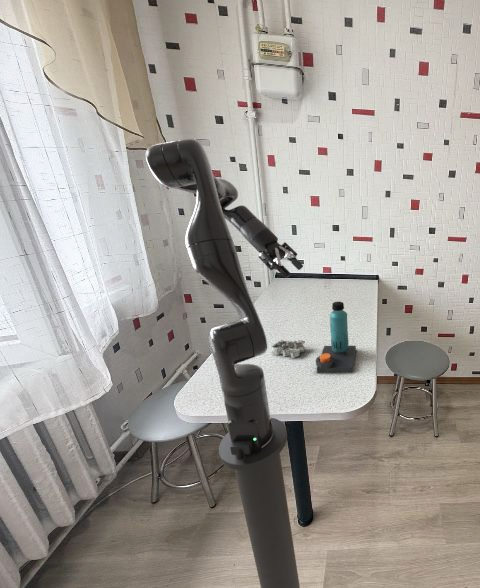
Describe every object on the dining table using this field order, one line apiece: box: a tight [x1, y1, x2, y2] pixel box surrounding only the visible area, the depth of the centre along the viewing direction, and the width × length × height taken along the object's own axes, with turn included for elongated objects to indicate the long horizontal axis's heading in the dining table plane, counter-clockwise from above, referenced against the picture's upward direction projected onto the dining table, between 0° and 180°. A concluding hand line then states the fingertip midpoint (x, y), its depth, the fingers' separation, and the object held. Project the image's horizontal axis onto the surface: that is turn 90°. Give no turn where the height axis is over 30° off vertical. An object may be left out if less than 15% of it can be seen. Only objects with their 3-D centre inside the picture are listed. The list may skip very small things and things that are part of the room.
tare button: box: [319, 353, 331, 363], centre depth 116 cm, size 4×4×2 cm
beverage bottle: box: [329, 301, 350, 352], centre depth 120 cm, size 6×7×20 cm
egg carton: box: [271, 339, 306, 359], centre depth 125 cm, size 11×8×4 cm
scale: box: [315, 345, 357, 374], centre depth 121 cm, size 15×13×4 cm
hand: (295, 272), depth 110 cm, fingers open, 8 cm apart
